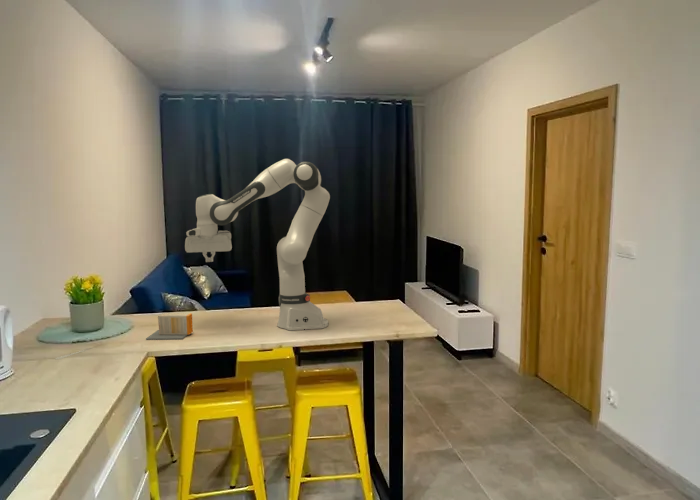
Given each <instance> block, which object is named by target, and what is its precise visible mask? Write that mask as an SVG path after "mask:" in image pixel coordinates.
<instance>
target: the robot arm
mask: <svg viewBox="0 0 700 500" xmlns="http://www.w3.org/2000/svg"><path fill="white" fill-rule="evenodd" d="M290 184H295V185H296V186H297V187H298V188H299V189H301V190H302V191H304V197H303V198H302V200H301V201H302V202H301V203H300V205H299V207H298V209H297V211H296V213H295V214H294V216H293V219H292V220H291V224H290V226H289V228H288V232H287V234H286V236H283V237H282V238H281V239H279V240H278V243H277V246H276V255H277V256H276V257H277V267H278V277H279V278H278V279H279V293H278V306H279V315H278V321H277V325H276V327H278V328H280V329H284V330H287V331H302V330H303V331H304V329H305V330H321V329H325V328H327V327H328V326H329V320H328V319H326V318H324V313H323V311H322V309H321V308H320V307H318V305H315V304H314V303H313V302H311V295H310V293H307V292H306V287H305V286H306V282H305V281H306V280H305V277H306V276H305V271H304V264H303V261H304V260H305V259H306V257H307V254H308V251H309V248H310V247H311V244H312V242H313V238H314V235H315V233H316V231H317V229H318V228H319V224H320V223H321V221H322V220H323V217H324V215H325V213H326V210H327V208H328V206H329V202H330V199H331V195H330V192H329V191H328V190H327V189H326V188H325V187H322V184H323V179H322V175H321V172H320V170H319V168H318V167H317V166H316V165H315V163H312V162H310V161H301V162H300V163H298V164H296V163H295V162H294V161H293V160H291V159H290V158H283V159H281V160H279V161H277V162H275V163H273V164H272V165H270V166H269V167H267V168H265V169H264V170H263V171H261V172H260V173H259V174H258V175H257V176H256V177H255V178H254V179H253V181H251V182H250V183H249V184H248V185H247V186H246V187H245V188H243V190H240V191H239V192H237V193H236V194H234V195H233V196H232V197H230V198H228V199H222V198H220V197H218V196H216V195H215V194H213V193H208V194H207V193H206V194H202V195H199V196H198V197H197V198H196V200H195V216H196V218H197V221H196V228H195V227H194V228H192V229H189V230H187V231H186V232H185V233H186V234H185V235H186V238H185V241H184V250H185V252H186V253H202V255H203V257H204V259H205V263H212V262H214V258H215V255H216V252H230V251H232V250H233V249H232V248H233V245H232V233H231V231H230V230H229V231H228V230H218V228H219V227H218V226H226V225H229V223H231V222H234V221H235V220H236V219H237V217H239V211H241V210H242V209H244V208H246V206H248V205H249V204H251V203H252V202H254V201H256V200H258V199H263V198H266V197H270V196H272V195H275V194H276V193H278V192H279V191H281V190H282V189H284V188H285V187H287V186H288V185H290ZM208 253H210V255H211V256H210V257H209V256H208Z"/></svg>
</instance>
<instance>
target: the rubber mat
mask: <svg viewBox="0 0 700 500" xmlns="http://www.w3.org/2000/svg"><path fill="white" fill-rule="evenodd" d="M187 337H188V335H159V329H157V330H156V331H155V332H153V333H152V334H151V335H149V336H148V337H146V338H145V341H158V340H159V341H165V340H166V341H167V340H168V341H170V340H172V341H173V340H178V341H179V340H182V341H183V340H184V339H185V338H187Z"/></svg>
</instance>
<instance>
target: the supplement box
mask: <svg viewBox="0 0 700 500" xmlns="http://www.w3.org/2000/svg"><path fill="white" fill-rule="evenodd" d="M157 321H158V330H159V335H187V336H190V334H192V333H194V329H193V328H194V327H193V313H191V312H190V313H187V312H186V313H179V312H178V313H171V312H169V313H167V312H166V313H165V312H164V313H163V312H162V313H160V314H159V315H157Z"/></svg>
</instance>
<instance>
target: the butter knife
mask: <svg viewBox="0 0 700 500" xmlns="http://www.w3.org/2000/svg"><path fill="white" fill-rule="evenodd" d="M85 351H86V350H85V349H84V350H79V351H76V352H72V353H70V354H68V353H67V354H64V355H62V356H58V357H55V358H54V360H62V359H65V358H68V357H70V356H73V355H76V354H79V353H82V352H85Z"/></svg>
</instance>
